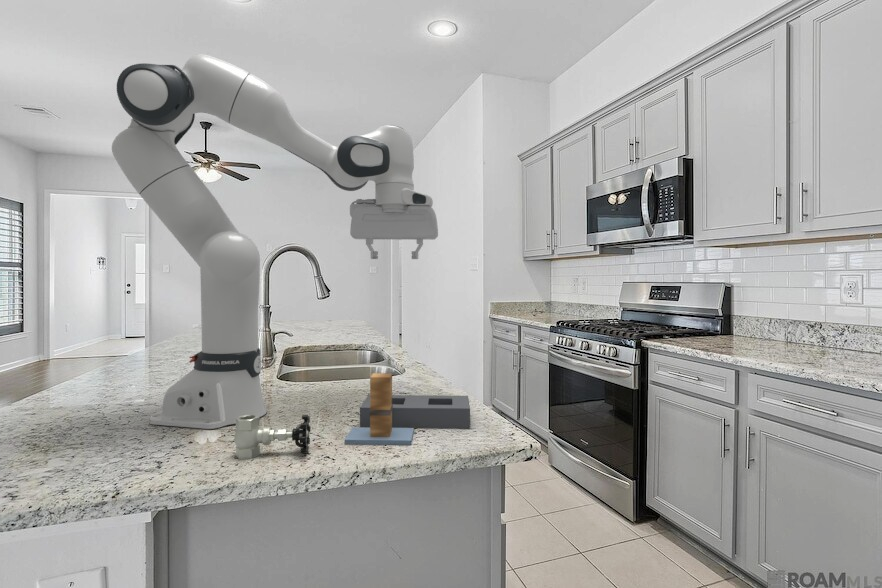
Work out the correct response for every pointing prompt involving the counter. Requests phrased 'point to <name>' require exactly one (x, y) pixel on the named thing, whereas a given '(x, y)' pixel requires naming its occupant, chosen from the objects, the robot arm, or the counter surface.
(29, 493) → the counter surface
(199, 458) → the counter surface
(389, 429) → the plug
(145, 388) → the counter surface
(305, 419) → the valve
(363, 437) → the pad
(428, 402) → the holder
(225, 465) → the counter surface
